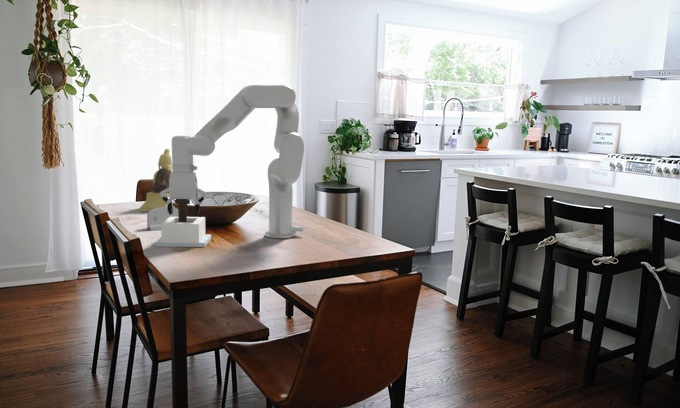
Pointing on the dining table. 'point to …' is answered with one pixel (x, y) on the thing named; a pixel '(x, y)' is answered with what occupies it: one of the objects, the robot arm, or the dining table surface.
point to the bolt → (182, 210)
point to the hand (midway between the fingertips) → (183, 214)
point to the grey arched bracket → (159, 217)
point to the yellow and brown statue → (159, 183)
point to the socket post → (183, 233)
